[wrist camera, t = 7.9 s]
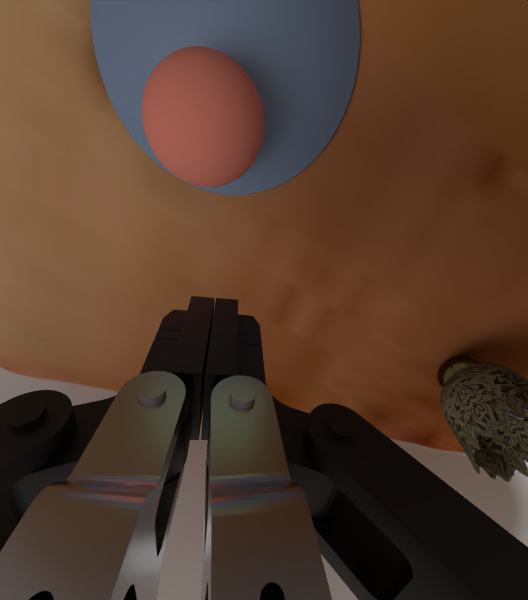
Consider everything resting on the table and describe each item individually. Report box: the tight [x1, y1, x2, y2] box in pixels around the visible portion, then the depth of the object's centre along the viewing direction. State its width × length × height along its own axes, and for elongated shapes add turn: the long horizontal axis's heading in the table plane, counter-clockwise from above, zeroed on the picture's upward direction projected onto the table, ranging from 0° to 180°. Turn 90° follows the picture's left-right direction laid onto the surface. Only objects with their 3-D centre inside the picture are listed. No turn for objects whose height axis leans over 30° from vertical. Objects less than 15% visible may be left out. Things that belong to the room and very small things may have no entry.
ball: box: [142, 46, 264, 187], centre depth 14 cm, size 6×6×6 cm
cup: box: [438, 357, 528, 482], centre depth 23 cm, size 8×7×8 cm
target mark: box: [90, 0, 360, 195], centre depth 15 cm, size 13×13×1 cm
